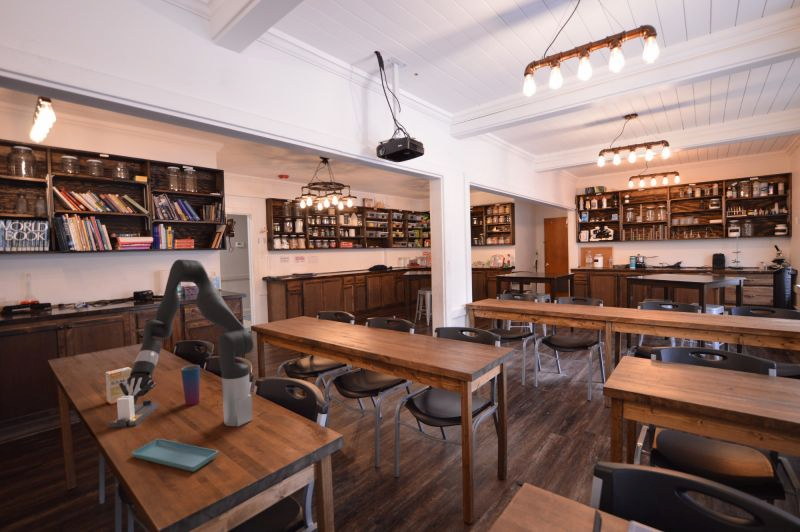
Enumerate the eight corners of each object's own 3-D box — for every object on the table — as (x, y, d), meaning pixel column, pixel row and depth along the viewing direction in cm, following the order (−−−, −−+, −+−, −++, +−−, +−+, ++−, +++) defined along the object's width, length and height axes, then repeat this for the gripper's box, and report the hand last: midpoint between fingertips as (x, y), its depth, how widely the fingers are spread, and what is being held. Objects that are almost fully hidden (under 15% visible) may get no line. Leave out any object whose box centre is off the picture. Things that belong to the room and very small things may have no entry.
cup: (193, 407, 152) (191, 370, 151) (179, 406, 153) (177, 370, 152) (205, 400, 159) (203, 365, 158) (191, 399, 160) (189, 364, 159)
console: (136, 407, 153) (135, 400, 153) (160, 405, 154) (159, 399, 154) (108, 428, 135) (107, 421, 135) (135, 426, 136) (134, 419, 136)
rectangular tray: (130, 459, 116) (129, 451, 116) (158, 444, 125) (158, 436, 124) (193, 475, 107) (193, 467, 107) (219, 458, 115) (218, 450, 115)
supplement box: (110, 404, 156) (108, 373, 156) (106, 402, 159) (104, 371, 158) (133, 398, 163) (131, 368, 162) (129, 395, 166) (127, 366, 165)
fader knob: (123, 417, 140) (121, 396, 140) (134, 416, 141) (133, 395, 140) (118, 421, 137) (116, 399, 137) (130, 420, 138) (128, 398, 137)
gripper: (123, 360, 149) (105, 404, 137) (159, 358, 150) (144, 401, 139) (131, 369, 154) (115, 412, 143) (166, 367, 156) (152, 409, 144)
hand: (129, 406), depth 141 cm, fingers closed
